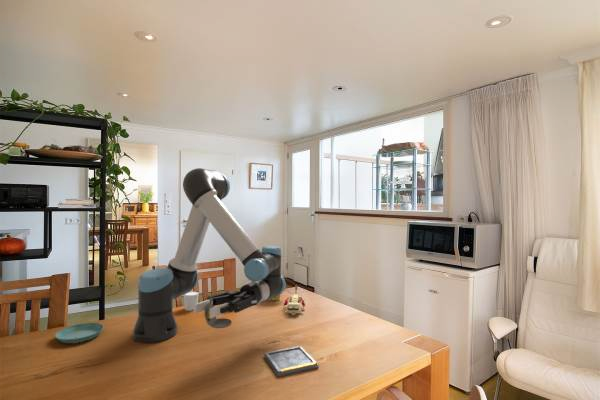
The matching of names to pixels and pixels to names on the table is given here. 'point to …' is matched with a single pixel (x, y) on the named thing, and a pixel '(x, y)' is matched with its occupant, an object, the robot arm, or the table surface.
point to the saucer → (85, 332)
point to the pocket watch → (213, 321)
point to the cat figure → (294, 303)
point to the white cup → (190, 300)
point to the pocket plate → (290, 361)
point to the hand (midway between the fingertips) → (202, 311)
